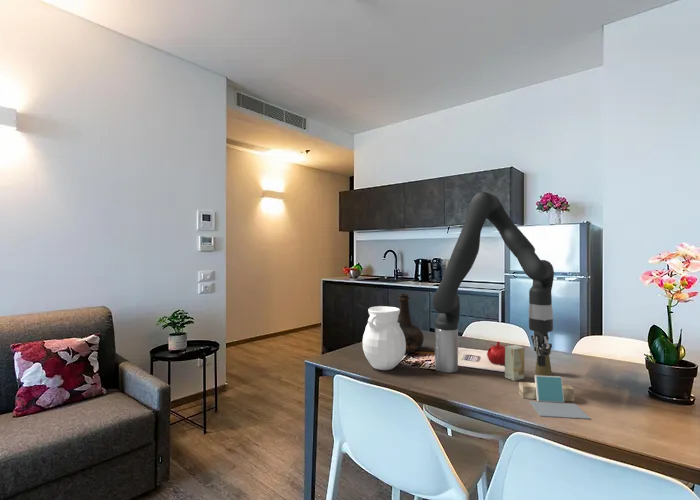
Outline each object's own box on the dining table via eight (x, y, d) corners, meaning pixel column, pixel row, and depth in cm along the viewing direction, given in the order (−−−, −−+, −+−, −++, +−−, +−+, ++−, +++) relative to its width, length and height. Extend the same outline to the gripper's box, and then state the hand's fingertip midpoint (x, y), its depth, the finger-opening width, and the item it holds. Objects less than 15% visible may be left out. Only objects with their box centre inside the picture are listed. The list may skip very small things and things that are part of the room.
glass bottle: (430, 350, 177) (430, 293, 177) (410, 358, 164) (409, 297, 164) (400, 343, 189) (400, 291, 189) (379, 350, 176) (379, 294, 176)
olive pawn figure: (554, 376, 140) (554, 348, 140) (537, 375, 142) (537, 347, 141) (548, 371, 146) (548, 344, 146) (532, 370, 148) (532, 343, 147)
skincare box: (513, 381, 136) (513, 349, 135) (504, 377, 139) (504, 346, 139) (525, 378, 138) (525, 347, 138) (515, 374, 142) (515, 344, 142)
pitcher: (385, 377, 140) (384, 314, 140) (353, 366, 154) (353, 308, 154) (415, 366, 153) (414, 308, 152) (383, 357, 166) (383, 303, 166)
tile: (538, 402, 117) (538, 378, 117) (534, 398, 121) (534, 374, 121) (564, 403, 116) (564, 379, 116) (559, 399, 120) (559, 375, 119)
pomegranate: (515, 363, 157) (516, 342, 156) (502, 367, 151) (503, 346, 151) (495, 357, 165) (495, 337, 165) (482, 361, 159) (482, 340, 159)
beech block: (522, 398, 120) (522, 386, 120) (519, 393, 124) (519, 382, 124) (574, 401, 118) (574, 389, 118) (568, 396, 122) (568, 384, 122)
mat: (540, 416, 108) (540, 415, 108) (528, 402, 117) (528, 401, 117) (591, 419, 106) (591, 418, 106) (574, 404, 115) (574, 403, 115)
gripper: (522, 313, 133) (523, 359, 133) (536, 320, 120) (537, 372, 120) (544, 313, 132) (545, 360, 132) (560, 320, 119) (561, 372, 119)
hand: (541, 365), depth 126 cm, fingers closed
